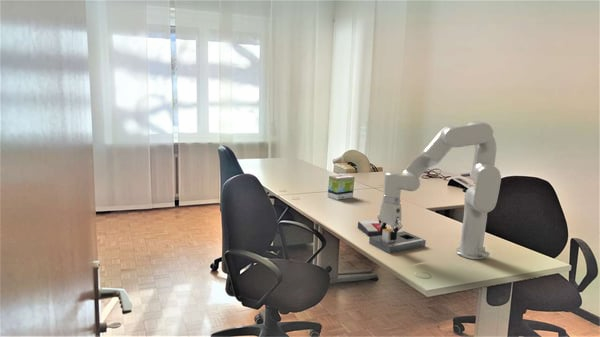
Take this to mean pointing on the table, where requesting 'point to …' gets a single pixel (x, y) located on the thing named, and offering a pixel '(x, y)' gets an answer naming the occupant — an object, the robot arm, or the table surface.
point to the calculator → (370, 227)
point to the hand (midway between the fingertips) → (388, 237)
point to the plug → (387, 235)
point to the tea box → (341, 186)
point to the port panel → (398, 242)
